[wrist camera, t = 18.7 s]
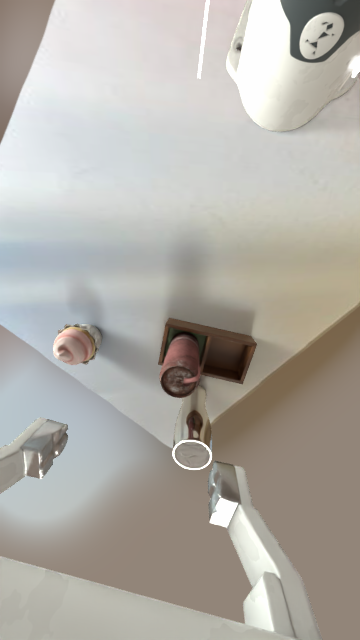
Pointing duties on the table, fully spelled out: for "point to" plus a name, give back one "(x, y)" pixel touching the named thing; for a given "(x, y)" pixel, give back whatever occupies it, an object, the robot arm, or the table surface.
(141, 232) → the table surface
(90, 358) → the cupcake
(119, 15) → the table surface
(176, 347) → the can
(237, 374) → the tray
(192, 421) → the beer glass
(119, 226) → the table surface
